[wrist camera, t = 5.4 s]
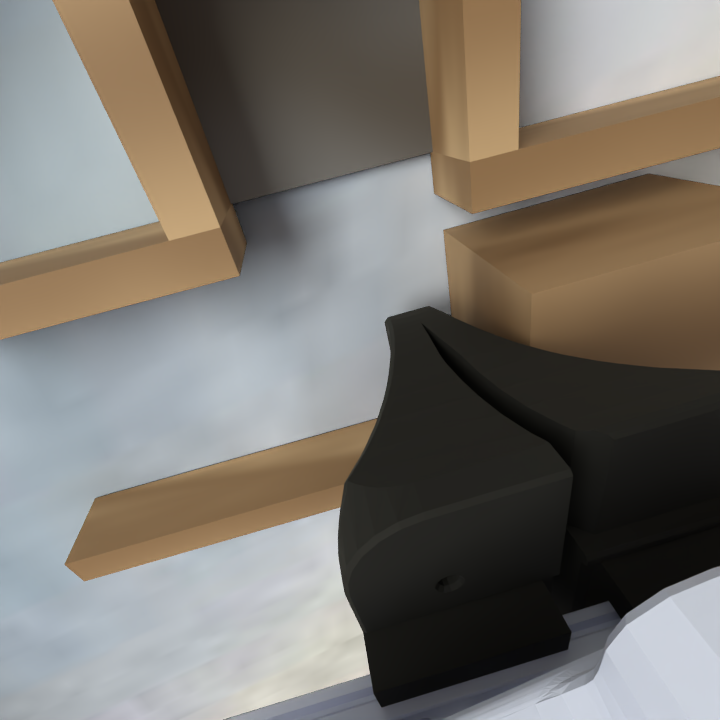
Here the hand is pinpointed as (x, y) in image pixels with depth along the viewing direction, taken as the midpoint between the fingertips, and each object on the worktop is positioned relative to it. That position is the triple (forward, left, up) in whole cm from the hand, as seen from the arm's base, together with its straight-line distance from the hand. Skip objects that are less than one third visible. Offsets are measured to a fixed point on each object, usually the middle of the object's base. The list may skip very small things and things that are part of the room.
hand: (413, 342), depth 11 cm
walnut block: (0, -5, -1) cm, 5 cm away
